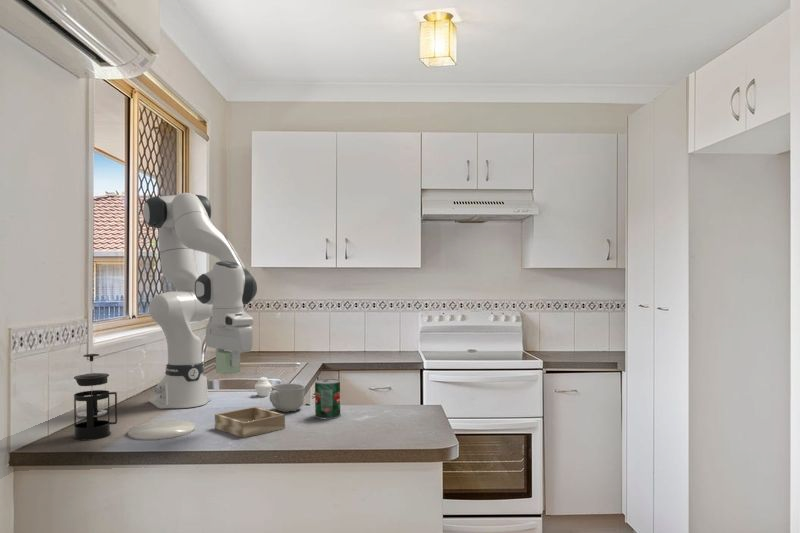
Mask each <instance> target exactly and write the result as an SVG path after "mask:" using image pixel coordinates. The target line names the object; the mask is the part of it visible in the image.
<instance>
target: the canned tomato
mask: <svg viewBox="0 0 800 533" xmlns="http://www.w3.org/2000/svg"><path fill="white" fill-rule="evenodd" d="M314 402H315V404H314V407H315V410H314V411H315V412H314V415H315V416H316V417H318V418H317V419H319V418H326V419H325V420H332V419H331V418H333V419H337V417H338V418H340V417H341V380H340V379H336V378H321V379H317V380H315V381H314Z"/></svg>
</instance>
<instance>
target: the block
mask: <svg viewBox="0 0 800 533" xmlns="http://www.w3.org/2000/svg"><path fill="white" fill-rule="evenodd" d="M232 356H233V355H232V351H229V350H224V351H218V352H216V351H215V373H217V374H221V375H229V374H230V375H231V374H237V373H241V356H240V357H239V359H238V366H236V367H232V366H230V360H232Z"/></svg>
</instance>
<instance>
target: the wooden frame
mask: <svg viewBox="0 0 800 533" xmlns="http://www.w3.org/2000/svg"><path fill="white" fill-rule="evenodd" d="M253 420H254V421H253ZM248 421H249V422H248ZM284 428H285V429H286V415H285V414H284V413H281V412H276V411H272V410H268V409H264V408H260V407H258V406H252V407H248V408H247V407H246V408H242V409H237V410H232V411H226V412H221V413H216V414H214V429H216V430H219V431H223V432H225V433H228V434H231V435H234V436H237V437H241V438H245V437H246V438H249V436H250V437H253V435H254V436H259V435H262V434H261V433H263V434H267V433H266V432H268V433H271V432H270V431H272V432H275V430H276V431H279V430H280V429H281V430H285V429H284ZM258 434H259V435H258Z"/></svg>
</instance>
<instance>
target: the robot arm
mask: <svg viewBox="0 0 800 533" xmlns="http://www.w3.org/2000/svg"><path fill="white" fill-rule="evenodd" d="M142 215H143V219H144V220H145V223H146V225H148V226H149V227H150V228H152V229H153V228H154V229H158V250H159V257H160V265H161V272H162V276H163V277H164V278H165V279H166V280H167V281H169V282H170V283H172V285H173V286H174V288H175V291H172V290H171V291H166V292H163V293H159V294H156V295H154V296H153V297H152V298H151V300H150V302H149V303H148V304H149V305H148V312H149V316H150V317H151V319H152V320H153V321H154V322H155V323H157V324H158V326H159V327H160V328H161V329H162V331H163V333H164V336H165V339H166V345H167V347H166V348H167V364H165V366H166V367H165V372H164V373H165V375H164V376H163V378H161V380H160V381H159V382H158V383H157V385H156V386H155V387H154V394H155V396H154V397H152V398H149V399H148V401H149V403H150V404H152V405H153V406H155V407H156V408H158V409H187V408H195V407H201V406H204V405H206V404H207V403H208V402H210V401H211V400H212V397H211V396H209V390H208V381H207V379H208V378H207V376H205V375H204V374H203V373H204V368H205V366H204V362H203V355H202V354H203V347H202V345H203V344H202V339H201V337H200V336H198V335H196V334H195V333H194V332H193V330H192V328H191V324H190V323H194V322H201V321H205V320H207V319H208V323H207V324H206V326H205V327H206V328H205V337H204V339H205V341H204V342H205V346H206V347H208V348H212V349H215V353H216V352H218V351H227V350H229V351H232V355H233V356H232V360H230V366H232V367H236V366H238V359H239V357H240V358H241V354H242V353H249V352H252V349H253V345H254V344H253V343H254V342H253V341H254V340H253V339H254V333H253V332H254V331H253V327H252V326H253V325H254V318H253V317H252V316H251V315H250V314H248V313H247V312H246V310H244V305H248V304H249V303H250V302H251V301H252V300H254V298H255V296H256V294H257V292H258V285H257V281H256V279H255V277H254V276H253V275H252V274H251V273H250V271H249V270H248V268H247V267H246V265H244V263H243V261H242V259H241V257H240V255H239V254H238V252H237V251H236V249H235V248H234V245H233V243H231V241H230V239H229V238H228V237H227V235H225V234H224V233H222V232H221V231H220V230H219V229H218V228H217V227H216V226H215V225H214V224H213V223H212V221H211V217H212V206H211V202H210V200H209V199H208V198H207V197H206V196H205V195H200V194H194V193H191V192H182V193H179V194H175V195H163V196H157V195H156V196H151V197H148V198H147V199H146V201H144V205H143V209H142ZM194 251H197V252H201V253H206V254H208V255H211V256H213V257H216V258H217V259H218V260H219V261H218V262H215V263H214V264H213V267H212V269H210V270H209V271H207V272H205V273H202V274H201V275H199V273H198V270H197V266H196V265H197V264H196V259H195V254H194Z"/></svg>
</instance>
